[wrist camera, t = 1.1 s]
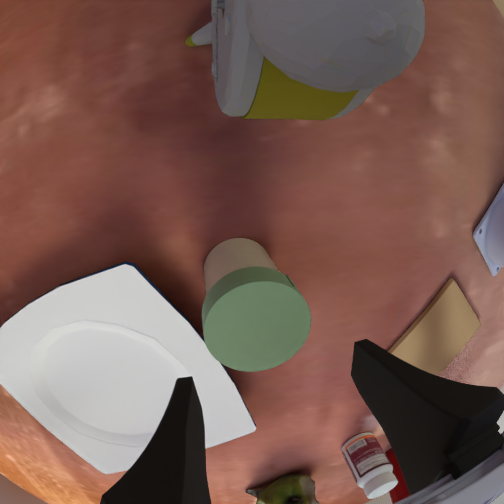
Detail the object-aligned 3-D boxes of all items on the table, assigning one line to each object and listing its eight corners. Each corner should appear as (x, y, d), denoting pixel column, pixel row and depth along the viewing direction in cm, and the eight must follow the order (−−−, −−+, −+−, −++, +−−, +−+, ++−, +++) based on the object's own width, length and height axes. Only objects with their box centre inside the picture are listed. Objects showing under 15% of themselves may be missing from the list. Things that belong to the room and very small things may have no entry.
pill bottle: (365, 449, 35) (390, 493, 27) (335, 455, 34) (358, 504, 26) (379, 428, 33) (407, 474, 26) (347, 434, 32) (374, 486, 25)
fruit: (264, 458, 33) (291, 503, 26) (317, 459, 37) (347, 495, 29) (233, 497, 33) (253, 540, 26) (286, 496, 37) (309, 532, 30)
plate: (-22, 334, 20) (-35, 350, 17) (141, 228, 20) (134, 240, 17) (107, 461, 28) (104, 479, 25) (265, 410, 28) (271, 430, 25)
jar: (233, 223, 21) (252, 264, 14) (284, 263, 23) (321, 314, 16) (189, 277, 22) (190, 336, 15) (242, 311, 23) (261, 374, 17)
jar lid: (247, 243, 16) (254, 257, 14) (320, 299, 17) (332, 315, 16) (181, 322, 16) (181, 342, 15) (257, 365, 18) (263, 384, 17)
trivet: (450, 277, 27) (454, 279, 26) (478, 322, 30) (481, 325, 30) (377, 360, 28) (380, 364, 28) (419, 389, 32) (422, 392, 32)
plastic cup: (389, 472, 41) (417, 521, 30) (352, 471, 37) (381, 531, 26) (435, 432, 39) (470, 480, 28) (405, 427, 35) (445, 487, 24)
